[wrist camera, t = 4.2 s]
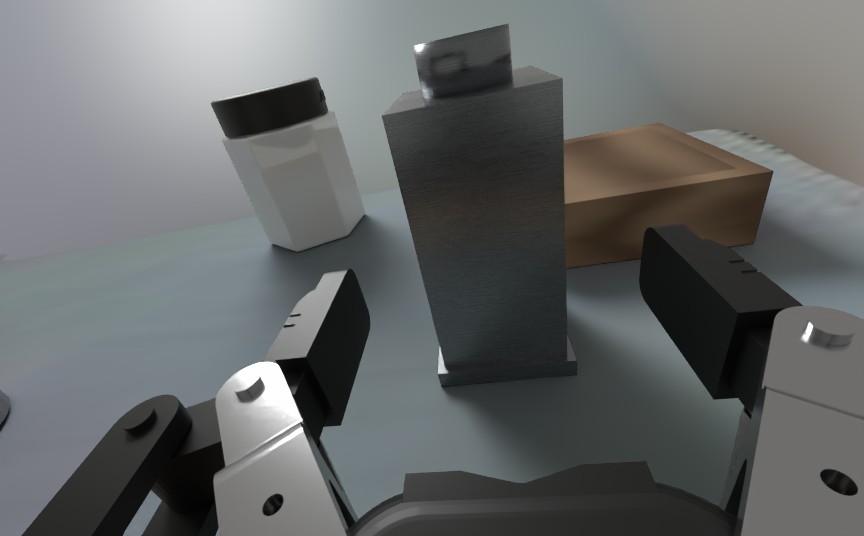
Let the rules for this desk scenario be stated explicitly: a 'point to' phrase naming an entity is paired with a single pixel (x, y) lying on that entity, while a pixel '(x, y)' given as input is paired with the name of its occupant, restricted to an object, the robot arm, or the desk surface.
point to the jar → (292, 163)
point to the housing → (486, 207)
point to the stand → (655, 192)
